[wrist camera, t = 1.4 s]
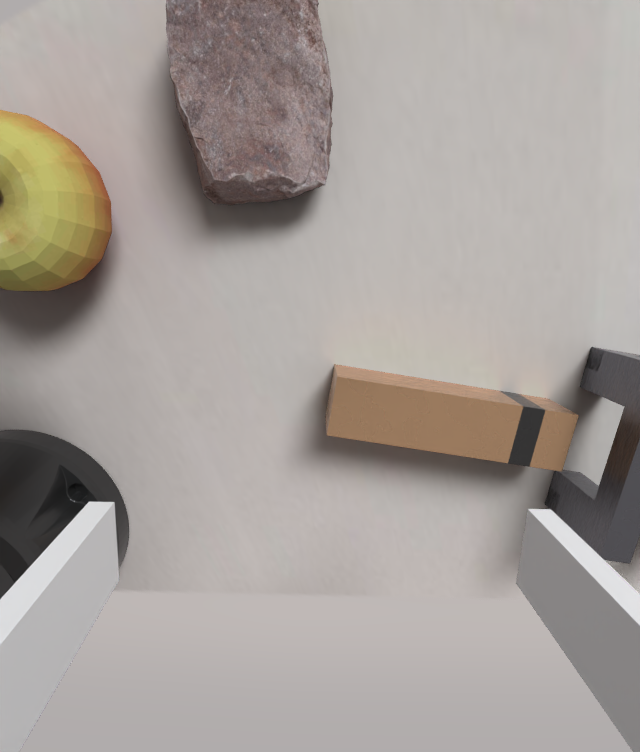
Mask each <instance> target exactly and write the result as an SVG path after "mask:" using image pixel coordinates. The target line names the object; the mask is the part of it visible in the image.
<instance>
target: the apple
mask: <svg viewBox="0 0 640 752" xmlns="http://www.w3.org/2000/svg"><path fill="white" fill-rule="evenodd" d="M111 233H112V227H111V201H110V199H109V196H108V193H107V191H106V188H105V186H104V183H103V180H102V178H101V175H100V173H99V171H98V170H97V169H96V168H95V166H94V165H93V164H92V163H91V162H90V160H89V159H88V158H87V157H86V155H85V154H84V153H83V152H82V151H81V149H80V148H79V147H78V146H77V145H76V144H74V143H73V142H72V141H71V140H69V139H68V138H66V137H64V136H63V135H61V134H60V133H58V132H56V131H55V130H53V129H51V128H50V127H48V126H47V125H45V124H43V123H42V122H40V121H38V120H36V119H34V118H32V117H29V116H27V115H22V114H17V113H12V112H7V111H3V110H0V288H3V289H5V290H14V291H50V290H55V289H59V288H62V287H64V286H66V285H69V284H71V283H74V282H76V281H78V280H81V279H83V278H84V277H85V276H86V275H87V274H88V273H89V272H90V271H91V270H92V269H93V268H94V267H95V266H96V265H97V264H98V262H99V261H100V260H101V259H102V257H103V255H104V252H105V249H106V246H107V244H108V241H109V238H110V235H111Z"/></svg>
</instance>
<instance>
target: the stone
mask: <svg viewBox="0 0 640 752" xmlns="http://www.w3.org/2000/svg"><path fill="white" fill-rule="evenodd" d="M318 4H319V3H318V0H167V1H166V13H167V23H166V31H167V50H168V55H169V59H170V62H171V68H170V77H171V79H172V81H173V84H174V88H175V98H176V105H177V108H178V111H179V113H180V117H181V120H182V122H183V126H184V127H185V129H186V131H187V133H188V136H189V139H190V145H191V147H192V148H193V152H194V156H195V158H196V162H197V168H198V173H199V176H200V179H201V185H202V189H203V192H204V195H205V196H206V197H207V198H208V199H210V200H211V201H212V202H213V203H214V204H226V205H235V204H237V203H239V204H244V203H248V202H271V201H277V200H282V199H289V198H292V197H295V196H298V195H301V194H302V193H304V192H305V191H310V190H312V189H314V188H317V187H320V186H322V185H325V184H326V179H327V175H328V171H329V166H330V165H329V155H330V151H331V145H332V144H331V127H332V124H333V123H332V118H331V111H332V100H333V92H332V87H331V79H330V70H329V65H328V58H327V52H326V47H325V44H324V41H323V38H322V31H321V23H320V19H319V16H318V9H317V8H318Z"/></svg>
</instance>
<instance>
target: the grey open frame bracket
mask: <svg viewBox="0 0 640 752" xmlns="http://www.w3.org/2000/svg"><path fill="white" fill-rule="evenodd" d="M580 387H581V388H583V389H586V390H588V391H590V392H592V393H595V394H597V395H599V396H602V397H604V398H606V399H609V400H611V401H613V402H616V403H618V404H620V405H623V406H625V407H624V410H623V414H622V417H621V420H620V423H619V426H618V429H617V432H616V435H615V438H614V441H613V445H612V448H611V451H610V454H609V457H608V460H607V463H606V466H605V469H604V472H603V475H602V479H601V482H600V485H599V486H598V485H596V484H595V483H594V482H593V481H591V480H590V479H589V478H587V477H586V476H585V475H583V474H582V473H580V472H573V471H567V470H562V471H555V472H554V475H553V479H552V482H551V485H550V489H549V492H548V496H547V499H546V502H545V505H546V506H547V507H548V508H549V509H551V510H552V511H553V512H554V513H555V514H556V515H557V516H558V517H559V518H560V519H561V520H563V521H564V522H565V523H566V524H567V525H568V526H569V527H570V528H571V529H572V530H573V531H574V532H575V533H576V534H577V535H578V536H579V537H580V538H582V539H583V540H584V541H585V542H586V543H587V544H588V545H589V546H590V547H591V548H592V549H593V550H594V551H595V552H596V553H597V554H598V555H599V556H600V557H602V558H603V559H604V560H609V561H616V562H623V563H630V562H631V559H632V556H633V553H634V550H635V547H636V545H637V542H638V539H639V536H640V355H636V354H630V353H624V352H618V351H612V350H606V349H601V348H595V347H592V348H591V351H590V355H589V358H588V361H587V365H586V368H585V371H584V375H583V378H582V381H581V385H580Z"/></svg>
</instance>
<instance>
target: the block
mask: <svg viewBox="0 0 640 752" xmlns="http://www.w3.org/2000/svg"><path fill="white" fill-rule="evenodd" d="M578 417H579V415H578V414H576V413H574V412H572V411H570V410H568V409H566V408H565V407H563V406H561V405H559V404H557V403H555V402H553V401H552V400H550V399H546V398H540V397H534V396H528V395H521V394H515V393H509V392H503V391H497V390H490V389H484V388H478V387H472V386H466V385H459V384H453V383H447V382H441V381H435V380H428V379H422V378H416V377H410V376H404V375H397V374H391V373H385V372H379V371H373V370H366V369H360V368H354V367H348V366H342V365H334V371H333V376H332V382H331V388H330V393H329V399H328V405H327V410H326V416H325V418H326V431H327V435H328V436H334V437H341V438H347V439H354V440H360V441H367V442H373V443H380V444H386V445H393V446H399V447H406V448H412V449H419V450H425V451H432V452H438V453H445V454H451V455H458V456H464V457H471V458H477V459H484V460H490V461H497V462H503V463H510V464H516V465H523V466H529V467H536V468H542V469H549V470H555V471H562V470H563V466H564V463H565V460H566V456H567V453H568V450H569V446H570V443H571V440H572V436H573V433H574V430H575V426H576V423H577V420H578Z"/></svg>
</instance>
